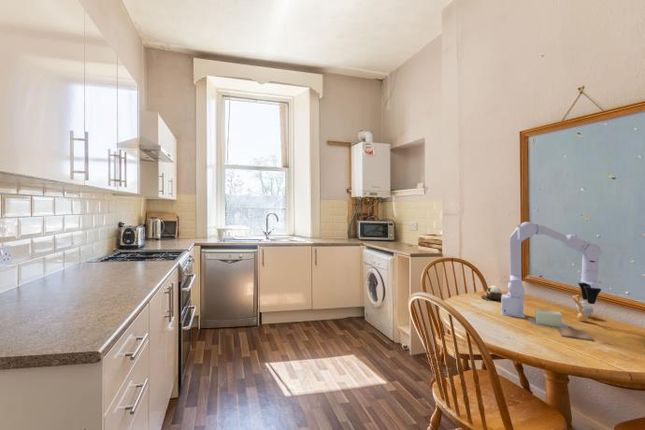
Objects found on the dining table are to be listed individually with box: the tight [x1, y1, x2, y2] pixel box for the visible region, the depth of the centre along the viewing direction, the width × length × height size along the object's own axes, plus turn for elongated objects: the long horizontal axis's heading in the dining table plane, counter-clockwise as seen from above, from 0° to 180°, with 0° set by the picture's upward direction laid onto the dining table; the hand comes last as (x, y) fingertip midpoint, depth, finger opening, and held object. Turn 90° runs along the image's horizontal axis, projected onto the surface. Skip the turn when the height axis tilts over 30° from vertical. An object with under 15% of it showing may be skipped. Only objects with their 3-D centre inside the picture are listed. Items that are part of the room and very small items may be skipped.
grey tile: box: [527, 317, 570, 329], centre depth 149 cm, size 14×10×1 cm
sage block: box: [534, 308, 563, 327], centre depth 149 cm, size 9×6×5 cm, turn 66°
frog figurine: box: [575, 300, 594, 318], centre depth 161 cm, size 6×7×7 cm
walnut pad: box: [555, 327, 594, 342], centre depth 136 cm, size 10×10×1 cm
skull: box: [480, 285, 503, 302], centre depth 190 cm, size 12×10×10 cm
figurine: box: [572, 294, 589, 323], centre depth 154 cm, size 8×6×12 cm
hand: (588, 301), depth 149 cm, fingers open, 7 cm apart
